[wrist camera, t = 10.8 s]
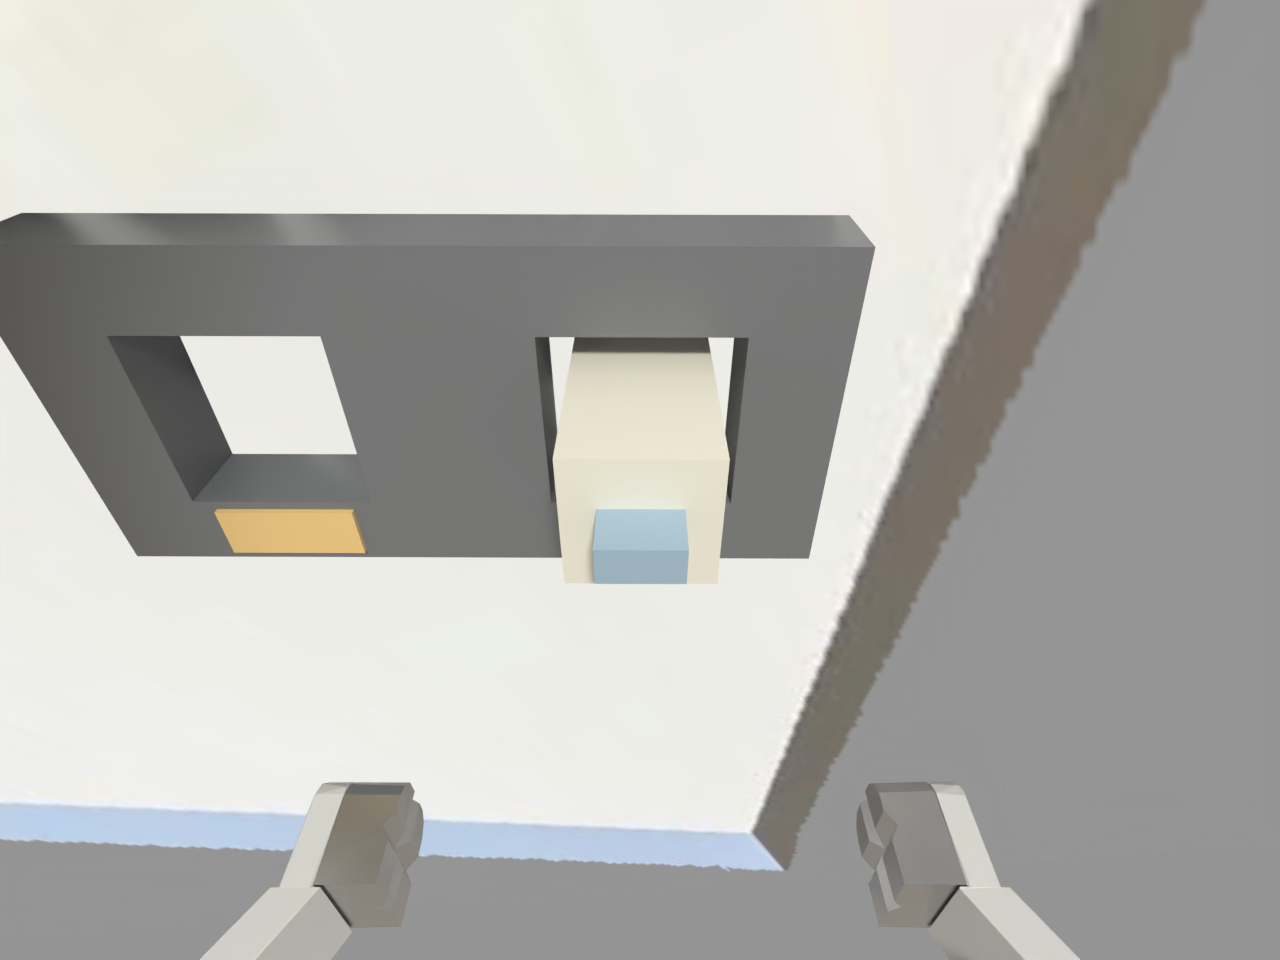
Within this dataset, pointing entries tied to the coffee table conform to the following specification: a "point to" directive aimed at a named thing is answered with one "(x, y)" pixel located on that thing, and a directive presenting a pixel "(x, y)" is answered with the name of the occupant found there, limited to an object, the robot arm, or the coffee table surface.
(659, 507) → the plug
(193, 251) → the panel
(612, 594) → the coffee table surface
